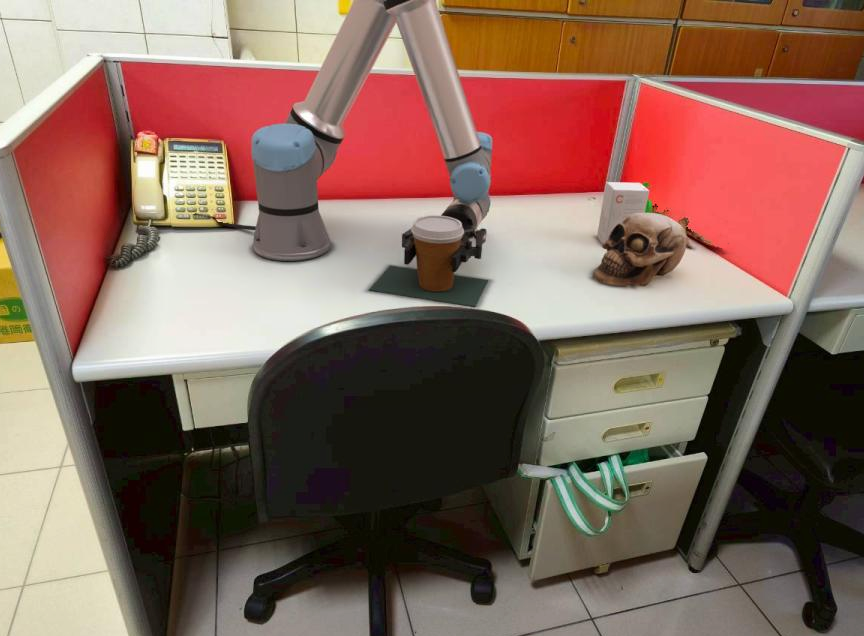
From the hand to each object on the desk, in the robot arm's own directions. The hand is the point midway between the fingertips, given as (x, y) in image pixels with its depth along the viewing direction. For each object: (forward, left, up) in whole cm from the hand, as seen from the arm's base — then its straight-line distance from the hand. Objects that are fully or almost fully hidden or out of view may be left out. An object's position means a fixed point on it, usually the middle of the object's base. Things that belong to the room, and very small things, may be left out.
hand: (430, 261), depth 110 cm
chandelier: (+39, +71, -7) cm, 81 cm away
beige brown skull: (+37, +25, -7) cm, 45 cm away
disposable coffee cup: (0, +5, -7) cm, 8 cm away
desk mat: (-1, +5, -7) cm, 8 cm away
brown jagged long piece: (+51, +51, -7) cm, 72 cm away
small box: (+33, +43, -7) cm, 54 cm away
